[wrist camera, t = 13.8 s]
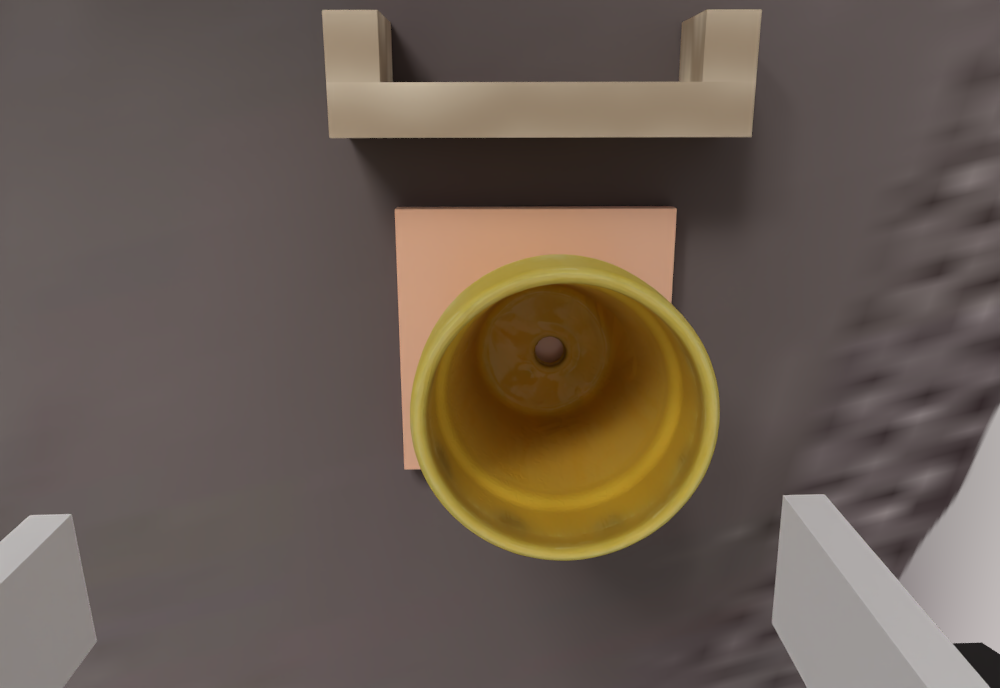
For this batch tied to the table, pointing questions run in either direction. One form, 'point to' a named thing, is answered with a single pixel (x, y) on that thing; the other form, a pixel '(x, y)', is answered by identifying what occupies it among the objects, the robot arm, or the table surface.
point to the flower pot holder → (543, 90)
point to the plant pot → (563, 409)
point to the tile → (505, 239)
